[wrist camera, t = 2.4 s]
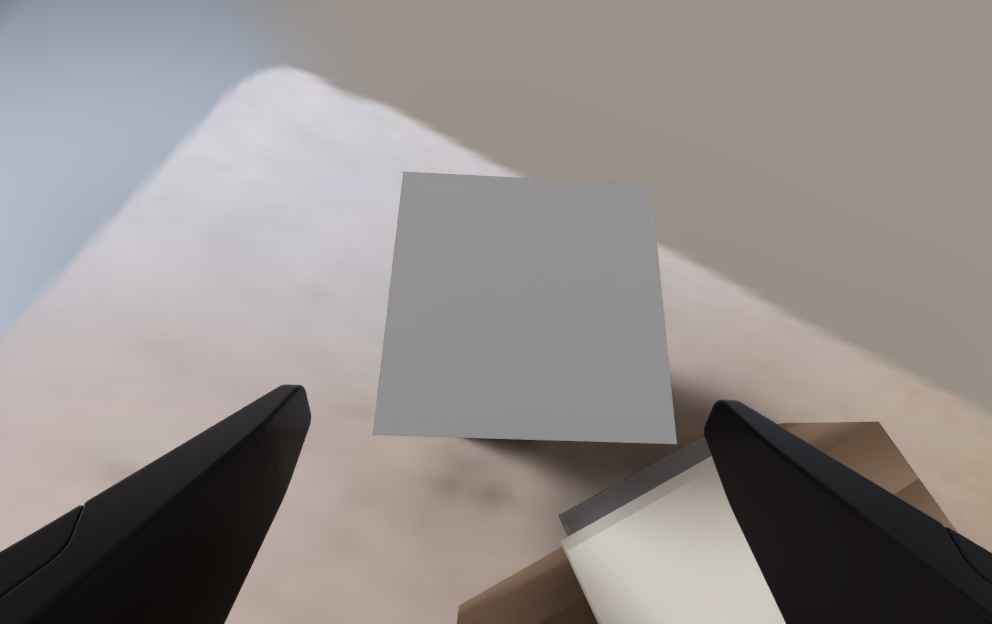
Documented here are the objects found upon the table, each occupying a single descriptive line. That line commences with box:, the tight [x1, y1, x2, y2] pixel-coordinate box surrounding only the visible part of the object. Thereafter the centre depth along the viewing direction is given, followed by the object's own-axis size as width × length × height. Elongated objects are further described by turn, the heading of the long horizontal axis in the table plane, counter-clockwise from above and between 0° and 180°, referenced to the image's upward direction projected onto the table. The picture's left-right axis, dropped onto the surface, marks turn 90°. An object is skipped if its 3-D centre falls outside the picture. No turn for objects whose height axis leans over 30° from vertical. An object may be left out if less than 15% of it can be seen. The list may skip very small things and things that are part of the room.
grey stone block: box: [373, 172, 677, 444], centre depth 12 cm, size 4×4×12 cm
